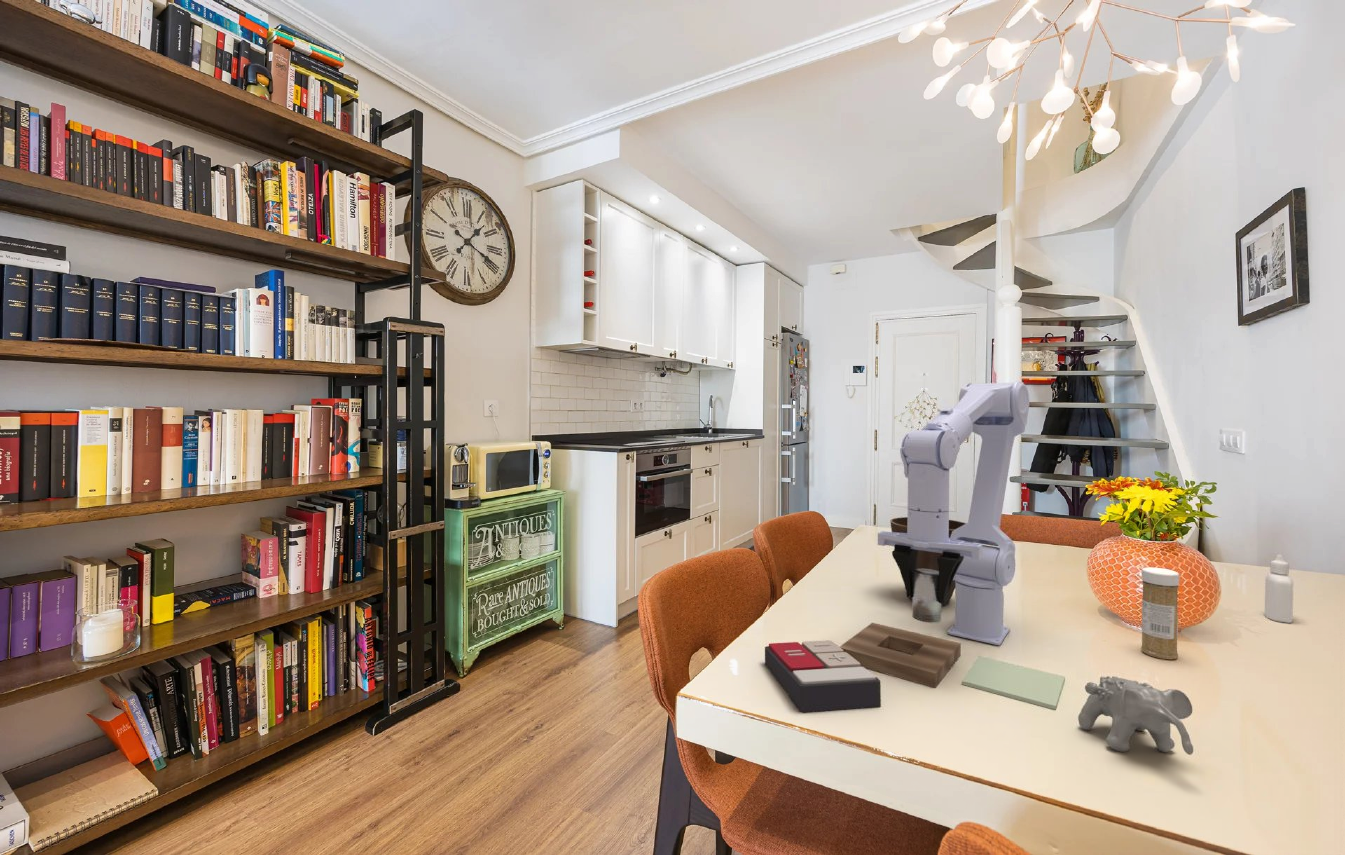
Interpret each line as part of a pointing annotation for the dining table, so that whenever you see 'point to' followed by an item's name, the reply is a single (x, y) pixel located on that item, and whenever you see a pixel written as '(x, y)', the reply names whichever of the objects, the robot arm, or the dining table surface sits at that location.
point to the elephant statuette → (1136, 712)
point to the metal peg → (926, 596)
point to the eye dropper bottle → (1279, 592)
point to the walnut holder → (921, 667)
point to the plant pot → (926, 557)
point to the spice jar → (1160, 612)
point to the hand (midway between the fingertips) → (926, 598)
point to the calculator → (822, 677)
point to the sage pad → (1015, 682)
